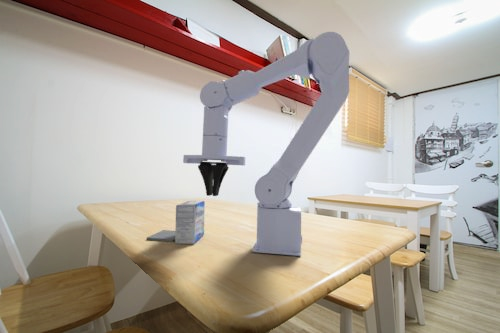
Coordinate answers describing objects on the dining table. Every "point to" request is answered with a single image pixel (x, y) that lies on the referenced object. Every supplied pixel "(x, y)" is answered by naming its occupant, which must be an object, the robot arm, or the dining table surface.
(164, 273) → the dining table surface
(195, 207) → the medicine box
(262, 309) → the dining table surface
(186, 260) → the dining table surface
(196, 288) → the dining table surface
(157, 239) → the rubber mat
